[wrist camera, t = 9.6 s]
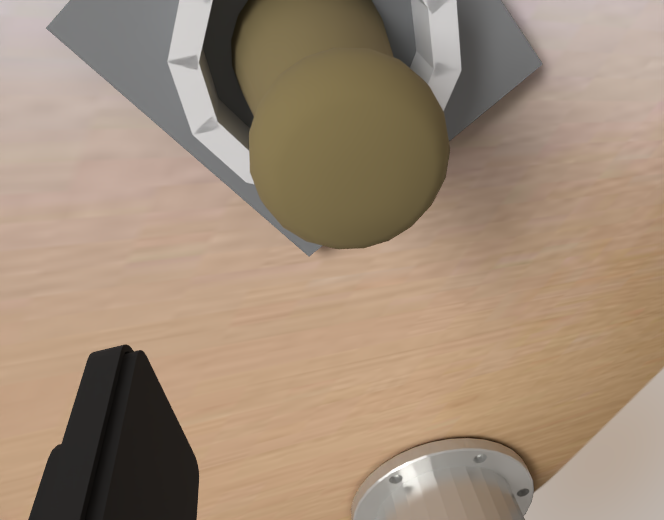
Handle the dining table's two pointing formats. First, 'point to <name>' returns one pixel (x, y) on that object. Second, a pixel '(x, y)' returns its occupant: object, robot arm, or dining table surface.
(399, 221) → the cork
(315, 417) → the dining table surface
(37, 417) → the dining table surface
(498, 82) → the mat
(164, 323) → the dining table surface
